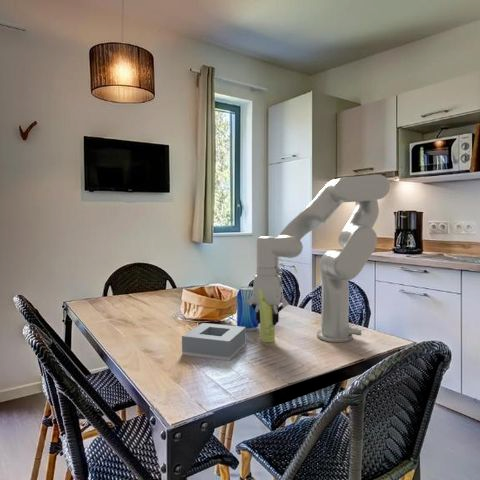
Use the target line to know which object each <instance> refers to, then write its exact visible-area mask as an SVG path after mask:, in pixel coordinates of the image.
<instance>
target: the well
mask: <svg viewBox="0 0 480 480" xmlns="http://www.w3.org/2000/svg"><path fill="white" fill-rule="evenodd" d="M246 332H247V331H246V327H240V326H237V325H228V324H217V323H210V322H209V323H207V322H202V323H200V324H199V325H198V326H197V325H196V326H195V327H194V328H192V329H191V330H189V331H188V332H186V333H184V334H183V335H182V336H181V355H182V356H188V357H190V356H191V357H197V358H203V359H204V358H206V359H214V360H220V361H221V360H222V361H229V362H230V361H231V360H232V359H233V357H235V355H237V353H239V352H240V351H241V350H242V349H243V348H244V347H245V345H246V343H247V342H246V339H247V337H246V335H247V333H246Z"/></svg>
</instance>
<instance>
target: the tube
mask: <svg viewBox="0 0 480 480" xmlns="http://www.w3.org/2000/svg"><path fill="white" fill-rule="evenodd" d="M258 295H259V308H260V323H259V324H260V325H259V330H260V341H261V342H263V343H273V342H275V340H276V334H275V333H276V332H275V331H276V328H275V327H276V325H273V314H274V308H273V305H267V304H266V302H265V299H264V296H263V293H262V291H261V289H260V287H258Z"/></svg>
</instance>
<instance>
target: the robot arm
mask: <svg viewBox="0 0 480 480" xmlns="http://www.w3.org/2000/svg"><path fill="white" fill-rule="evenodd" d="M390 189H391V183H390V181H389V179H388V178H387V177H385V176H384V175H381V174H369V175H368V174H366V175H360V176H359V175H358V176H344V177H339V178H333V179H331V180H330V181H328V182H327V183H326V184H325V185H324V186H323V187H322V189H321V190H320V191H319V192H318V194H317V195H316V196H315V197H314V198H313V199H312V200H311V201H310V203H309V204H308V205H307V206H306V207H305V208H304V209H303V210H302V211H301V212H300V213H298V214H297V216H295V217H294V218H293V219H292V220H291V221H290V222H289V223H288V224H286V226H284V228H283V230H281V232H280V233H279V234H278V235H277V236H271V235H270V236H269V235H267V236H259V237H258V238H257V240H256V274H255V275H254V278H253V286H252V287H253V294H252V295H251V297H250V298H249V299H248V300H247V303H249V304H250V305H251V306H252V308H253V309H254V310H255V312H256V320H257V321H258V324H260V308H259V295H258V287H260V289H261V291H262V293H263V296H264V299H265V302H266V304H267V305H273V308H274V314H273V325H275V326H276V325H277V324H278V323H279V320H280V319H279V317H280V315H279V314H280V312H281V311H282V310H283V309H285V308H286V307H287V306H288V305H289V301H287V300H286V298H285V297H284V294H283V290H284V289H283V283H282V282H283V280H282V276H281V275H280V274H283V270H284V269H281V268H280V267H279V257H280V258H288V259H293V258H296V257H298V256H300V255H301V254H302V251H303V248H304V247H303V242H302V239H303V238H304V237H305V236H306V235H307V234H309V233H310V232H312V231H314V230H316V229H318V228H319V227H321V226H323V225H324V224H325V223H327V222H328V221H329V219H330V218H331V216H332V215H333V214H334V213H335V212H336V210H337V209H339V207H340V206H342V204H343V203H353V202H354V203H355V206H354V210H353V212H352V214H351V216H350V217H349V219H348V221H347V222H346V223H345V225H344V227H343V228H342V229H341V231H340V233H339V235H338V244H339V246H340V247H341V248H342V249H341V250H339V249H331V250H327V251H326V252H325V253H323V254H322V256H321V257H320V261H319V263H320V264H319V268H320V270H319V271H320V277H321V318H320V319H321V321H320V323H321V324H320V325H321V326H320V327H321V329H319V330H318V331H317V332H316V336H317V338H319V339H320V340H322V341H326V342H331V343H333V342H334V343H344V342H345V343H346V342H349V341H352V339H353V336H354V335H356V336H362V329H359V328H356V327H354V328H353V327H350V326H351V325H350V323H349V311H350V310H349V308H350V307H349V305H350V304H349V303H350V302H349V301H350V286H349V285H350V284H349V281H352V280H354V279H355V278H356V277H358V275H359V274H360V273H361V272H362V271H363V269H364V267H365V265H366V264H367V262H368V261H369V259H370V257H371V256H372V254H373V253H374V251H375V249H376V246H377V243H378V236H377V233H376V231H375V230H374V229H373V227H374V225H375V224H376V221H377V220H378V217H379V214H380V212H379V211H380V210H379V209H380V208H379V202H378V201H379V200H381V199H384V198H385V197H387V195H388V194H389V192H390ZM255 303H256V304H257V305H256V304H255ZM281 303H282V304H281ZM280 304H281V305H280Z"/></svg>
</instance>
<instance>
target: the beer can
mask: <svg viewBox="0 0 480 480" xmlns="http://www.w3.org/2000/svg"><path fill="white" fill-rule="evenodd" d="M252 294H253V286H240V287H239V290H238V291H237V294H236V326H240V327H246V332H254V331H256V330H257V328H258V327H260V325H259V324H260V323H259V324H258V321H257V320H256V312H255V310H254V309H253V308H252V306H251V305H250V304H249V303H247V300H248V299H249V298H250V297H251V295H252ZM255 304H256V303H255ZM256 305H257V304H256Z"/></svg>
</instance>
